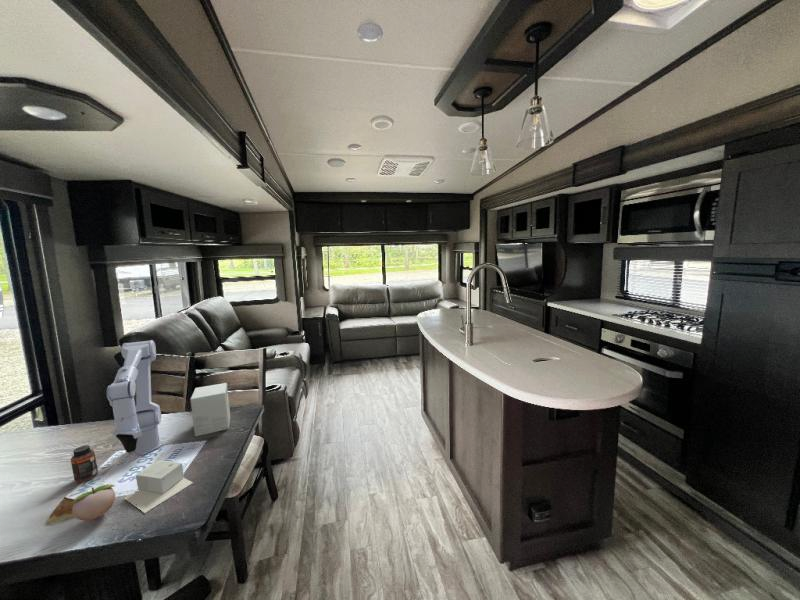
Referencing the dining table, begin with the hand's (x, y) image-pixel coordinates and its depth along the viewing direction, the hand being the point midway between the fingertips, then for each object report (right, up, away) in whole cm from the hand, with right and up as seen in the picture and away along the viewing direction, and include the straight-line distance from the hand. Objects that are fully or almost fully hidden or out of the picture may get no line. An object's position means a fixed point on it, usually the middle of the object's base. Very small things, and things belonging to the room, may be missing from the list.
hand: (131, 451), depth 109 cm
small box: (+8, -7, -2) cm, 11 cm away
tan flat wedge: (-9, -13, -14) cm, 21 cm away
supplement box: (+9, -5, +34) cm, 35 cm away
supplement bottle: (-17, -10, +1) cm, 20 cm away
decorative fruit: (+5, -12, -16) cm, 21 cm away
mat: (+15, -10, -6) cm, 19 cm away
